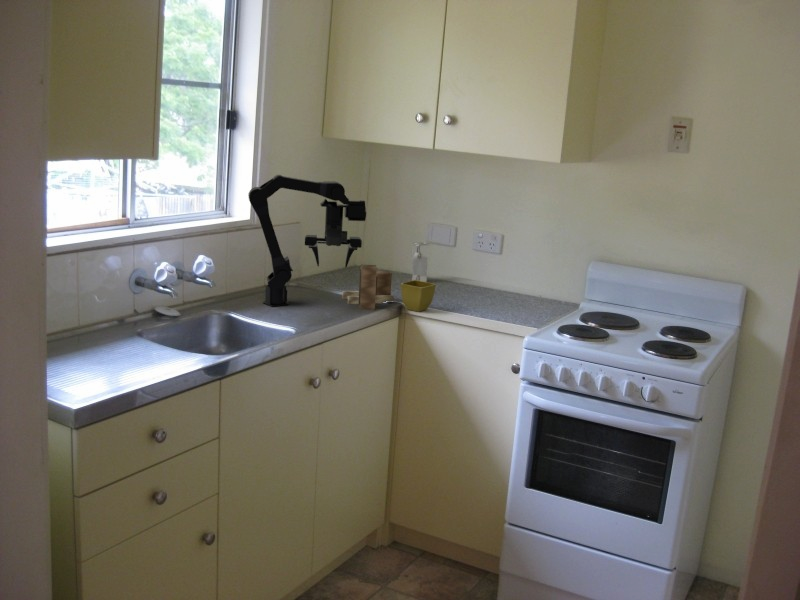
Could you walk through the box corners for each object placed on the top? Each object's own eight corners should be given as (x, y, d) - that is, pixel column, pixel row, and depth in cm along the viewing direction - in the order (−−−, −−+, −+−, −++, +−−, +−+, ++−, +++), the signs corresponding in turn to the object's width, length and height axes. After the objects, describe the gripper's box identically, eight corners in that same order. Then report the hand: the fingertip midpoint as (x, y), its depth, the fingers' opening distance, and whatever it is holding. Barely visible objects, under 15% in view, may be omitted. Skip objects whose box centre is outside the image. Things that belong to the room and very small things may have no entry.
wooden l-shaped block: (348, 304, 302) (349, 275, 299) (342, 298, 310) (343, 269, 308) (393, 303, 306) (394, 274, 304) (386, 297, 315) (387, 269, 312)
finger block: (358, 308, 296) (360, 267, 293) (358, 305, 301) (360, 264, 298) (374, 309, 296) (376, 267, 293) (374, 305, 301) (376, 265, 298)
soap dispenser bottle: (431, 281, 345) (433, 243, 341) (422, 284, 339) (424, 245, 335) (416, 279, 348) (418, 241, 345) (406, 281, 342) (408, 243, 339)
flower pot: (435, 309, 300) (436, 283, 298) (420, 314, 293) (422, 287, 291) (413, 305, 304) (414, 279, 302) (398, 309, 297) (400, 283, 295)
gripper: (305, 222, 285) (303, 270, 288) (363, 225, 287) (361, 272, 290) (305, 217, 296) (304, 263, 299) (361, 220, 298) (359, 266, 301)
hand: (332, 266), depth 297 cm, fingers open, 9 cm apart
